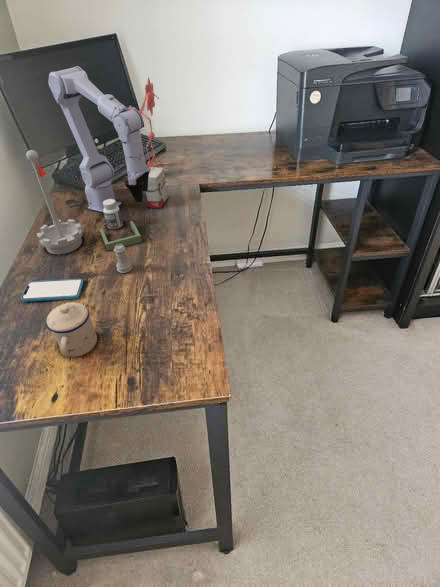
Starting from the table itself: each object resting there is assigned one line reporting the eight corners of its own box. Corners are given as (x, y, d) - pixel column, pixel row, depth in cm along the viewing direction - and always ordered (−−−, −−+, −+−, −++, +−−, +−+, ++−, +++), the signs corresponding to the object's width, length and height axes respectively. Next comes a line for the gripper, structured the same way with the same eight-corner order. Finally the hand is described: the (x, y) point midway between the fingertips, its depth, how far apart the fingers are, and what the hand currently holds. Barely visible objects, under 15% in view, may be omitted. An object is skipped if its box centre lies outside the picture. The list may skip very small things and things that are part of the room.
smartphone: (77, 296, 101) (20, 299, 101) (79, 299, 102) (21, 302, 101) (83, 278, 107) (28, 281, 106) (84, 281, 108) (30, 284, 107)
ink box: (161, 208, 137) (156, 177, 129) (148, 207, 138) (142, 176, 130) (168, 197, 144) (164, 167, 136) (155, 196, 144) (151, 166, 137)
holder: (101, 235, 125) (99, 228, 124) (134, 227, 128) (132, 220, 127) (107, 250, 118) (105, 244, 117) (141, 241, 122) (140, 235, 120)
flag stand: (35, 245, 122) (-5, 152, 102) (71, 228, 129) (41, 138, 109) (56, 261, 115) (17, 164, 95) (93, 242, 122) (64, 148, 102)
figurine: (138, 185, 152) (120, 88, 129) (151, 159, 172) (137, 71, 149) (177, 185, 151) (165, 86, 128) (185, 159, 170) (176, 69, 147)
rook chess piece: (135, 266, 112) (130, 243, 107) (127, 275, 109) (121, 252, 104) (121, 263, 113) (116, 240, 108) (114, 272, 110) (107, 249, 105)
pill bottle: (116, 219, 133) (110, 196, 127) (126, 224, 130) (120, 200, 124) (104, 226, 130) (97, 202, 124) (113, 231, 127) (107, 207, 121)
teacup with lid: (64, 330, 93) (48, 294, 86) (101, 327, 93) (89, 291, 86) (50, 370, 84) (31, 334, 77) (92, 367, 84) (77, 331, 77)
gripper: (142, 164, 109) (149, 207, 118) (152, 145, 119) (158, 185, 128) (117, 164, 109) (126, 207, 118) (130, 145, 120) (137, 185, 129)
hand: (141, 196), depth 123 cm, fingers open, 7 cm apart
